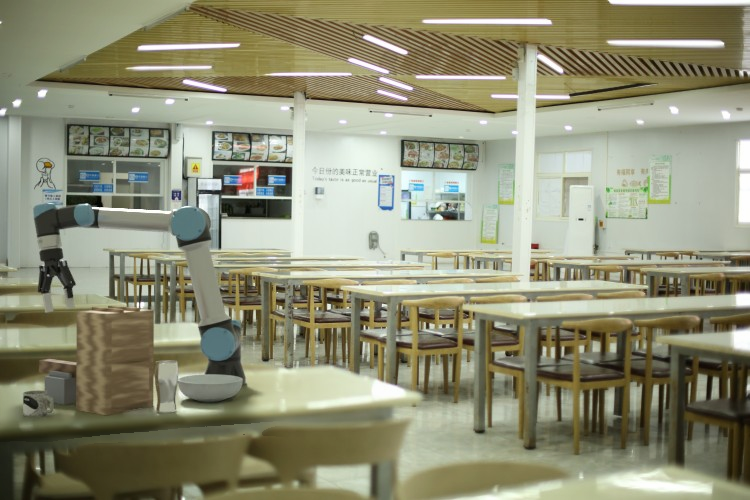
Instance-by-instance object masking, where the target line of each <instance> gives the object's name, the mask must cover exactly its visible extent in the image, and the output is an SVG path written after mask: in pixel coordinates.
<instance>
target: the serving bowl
mask: <svg viewBox="0 0 750 500" xmlns="http://www.w3.org/2000/svg"><path fill="white" fill-rule="evenodd" d="M204 374H205V373H204ZM204 374H194V375H193V374H192V375H185V376H180V377H178V384H177V387H178V388H179V389H178V390H179V391H180V393H182V395H184V397H186V398H189V399H192V400H196V401H198V402H204V403H205V402H207V403H213V402H221V401H224V400H227V399H230V398H233V397H234V396H236V395H237V394H238V393H239V392H240V390H241V388H242V386H243V385H242V382H243V379H242V378H241V377H237V376H231V375H216V374H205V375H204Z"/></svg>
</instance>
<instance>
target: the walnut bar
mask: <svg viewBox="0 0 750 500" xmlns="http://www.w3.org/2000/svg"><path fill="white" fill-rule="evenodd" d="M50 371H59V372H65V373H72V377H73V378H76V361H75V362H74V361H67V360H61V359H55V358H53V359H52V358H47V359H46V358H45V359H39V360H38V372H39V373H40V374H41V373H42V374H47V375H50Z"/></svg>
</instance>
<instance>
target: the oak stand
mask: <svg viewBox="0 0 750 500" xmlns="http://www.w3.org/2000/svg"><path fill="white" fill-rule="evenodd" d="M154 317H155V310H154V309H143V308H141V307H131V306H117V305H107V307H101V306H100V307H99V306H92V307H91V309H89V310H78V311H76V355H75V356H76V359H75V360H76V361H75V362H76V403H75V404H76V406H75V407H76V408H75V410H76V411H79V412H80V411H81V412H86V413H92V414H96V415H101V416H102V415H103V416H111V415H115V414H120V413H125V412H131V411H135V410H140V409H146V408H150V407H154V381H155V367H154V365H155V364H154V363H155V362H154V354H155V353H154V350H155V348H154V347H155V346H154V345H155V340H154V338H155V337H154V336H155V329H154V328H155V322H154V321H155V320H154V319H155V318H154Z"/></svg>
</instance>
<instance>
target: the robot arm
mask: <svg viewBox="0 0 750 500" xmlns="http://www.w3.org/2000/svg"><path fill="white" fill-rule="evenodd" d="M32 209H33V211H32V212H33V213H32V214H33V221H34V227H35V231H36V232H35V233H36V239H37V240H36V241H37V244H38V246H37V247H38V250H39V252H38V253H39V260H40V262H44V264H40V265H38V269H39V274H38V284H37V293H40V294H41V295H42V300H43V302H42V303H43V306H44V313H45V314H46V313H52V312H54V306H53V299H52V292H51V290H50V289H51V285H52V282H53V279H54V277H57V279H58V280H59V282H60V283H61V285H63V294H64V295H63V296H64V301H65V308H66V310H68V309H69V310H70V309H74V308H75V300H74V292H73V288H74V287H75V286H76V285H77V284H76V281H75V279H74V276H73V274H72V272H71V269H70V268H69V265H68V261H67V259H64V253H63V249H62V248H61V247H62V245H63V244H62V239H61V238H62V237H61V233H60V232H61V231H60V230H66V229H74V228H80V229H81V228H84V229H104V230H118V231H119V230H121V231H134V232H135V231H138V232H139V231H140V232H154V233H155V232H156V233H170V234H171V235H172V236H173V237H175V239H176V242H177V247H178V250H180V251H182V252H183V253H184V257H185V260H186V261H185V262H186V264H187V268H188V273H189V276H190V281H191V285H192V288H193V293H194V298H195V301H196V305H197V308H198V309H197V310H198V313H199V316H200V317H199V318H200V321H199V323H198V325H197V328H198V332H199V336H200V341H199V343H200V350H201V352H202V354H203V355H204V356H205V357H206V358H207V365H206V368H205V371H204V374H203V375H205V374H216V375H231V376H237V377H241V378H242V379H243V382H242V386H243V385H245V384H246V383H247V382H246V379H247V378H246V374H245V370H244V368H243V364H242V323H241V321H240V320H237V319H232V317H231V316H230V315H228V314H226V311H225V307H224V302H223V299H222V295H221V290H220V286H219V281H218V277H217V273H216V269H215V265H214V263H213V258H212V257H213V256H212V253H211V250H210V245H211V244H212V242H213V239H212V235H211V231H210V229H211V227H212V222H211V218H210V217H211V216H209V214H208V213H207V211H206V210H205V209H202V208H201V207H197V206H194V205H185V206H182V207H180V208H174V209H173V210H171V211H169V210H168V211H167V210H166V211H164V210H148V209H147V210H146V209H134V208H133V209H131V208H129V209H128V208H114V207H113V208H112V207H111V208H110V207H96V206H92V205H91V204H89V203H79V204H74V205H69V206H64V207H63V206H62V207H57V206H56V204H55V203H53V202H47V203H46V202H45V203H40V204H35V205H34V206H33V208H32ZM63 259H64V260H63Z"/></svg>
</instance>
